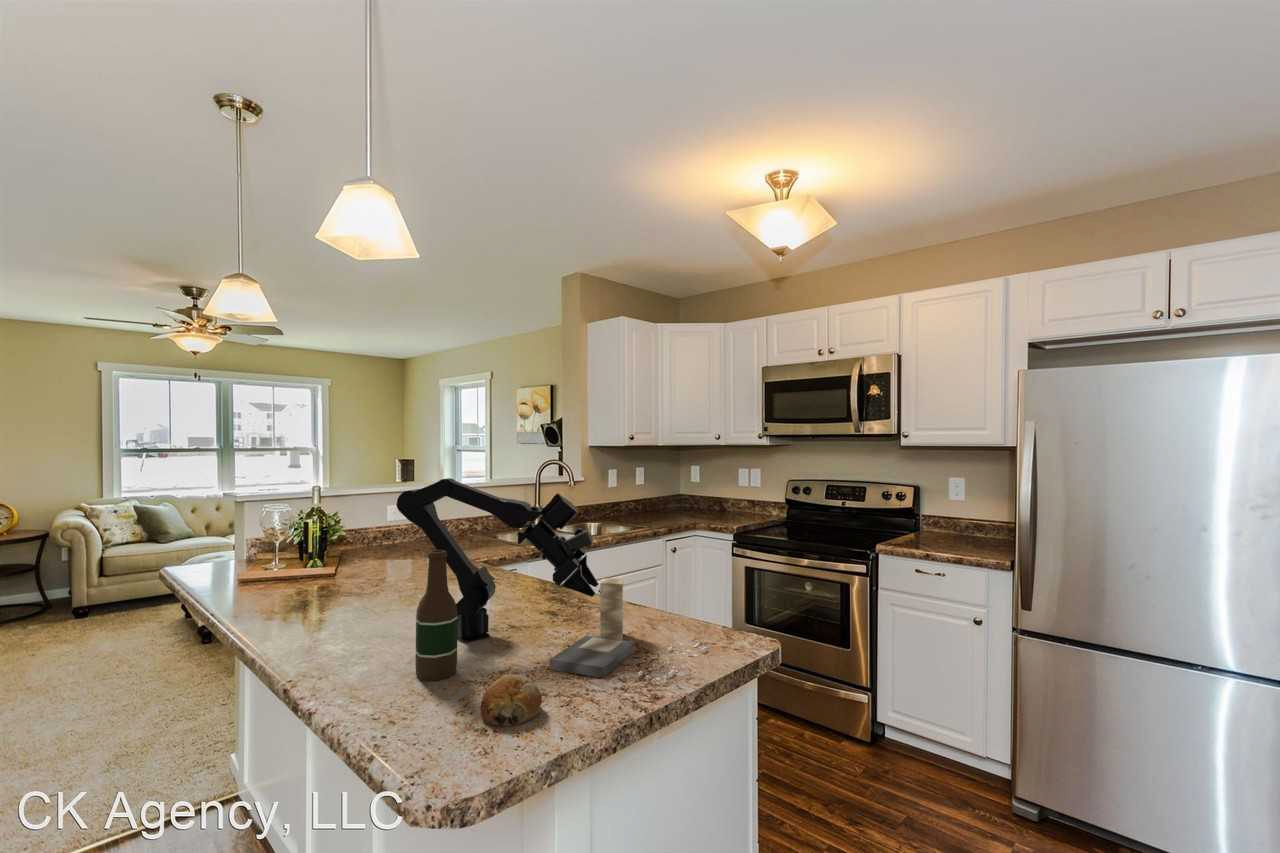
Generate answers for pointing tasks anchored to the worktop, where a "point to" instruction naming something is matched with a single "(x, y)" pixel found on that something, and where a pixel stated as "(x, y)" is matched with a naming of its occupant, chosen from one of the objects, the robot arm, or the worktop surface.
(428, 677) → the beer bottle
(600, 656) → the slate plinth
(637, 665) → the worktop surface
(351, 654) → the worktop surface
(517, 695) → the bread roll
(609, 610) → the birch pillar
